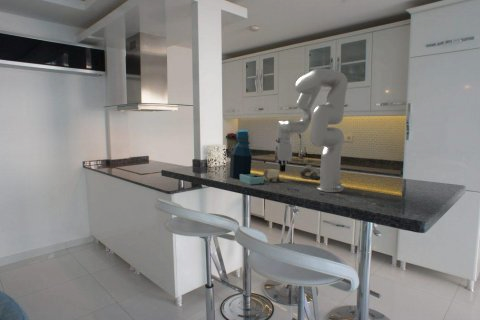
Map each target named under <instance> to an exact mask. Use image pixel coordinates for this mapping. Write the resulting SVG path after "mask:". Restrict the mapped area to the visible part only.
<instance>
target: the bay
mask: <svg viewBox="0 0 480 320" xmlns="http://www.w3.org/2000/svg"><path fill="white" fill-rule="evenodd" d="M239 182H242V183H244V184H247V185H259V184H260V183H261V184H264V182H265V181H264V177H263V176H257V177H256V176H255V174H251V173H250V174H249V175H242V174H240V179H239Z"/></svg>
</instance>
